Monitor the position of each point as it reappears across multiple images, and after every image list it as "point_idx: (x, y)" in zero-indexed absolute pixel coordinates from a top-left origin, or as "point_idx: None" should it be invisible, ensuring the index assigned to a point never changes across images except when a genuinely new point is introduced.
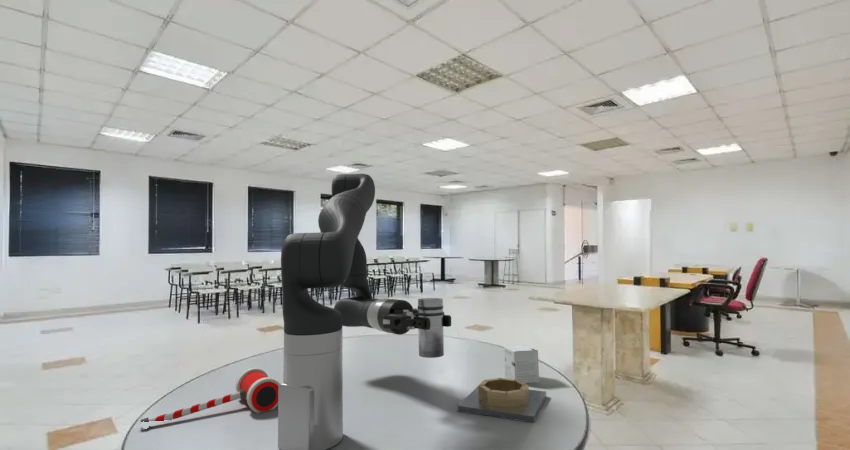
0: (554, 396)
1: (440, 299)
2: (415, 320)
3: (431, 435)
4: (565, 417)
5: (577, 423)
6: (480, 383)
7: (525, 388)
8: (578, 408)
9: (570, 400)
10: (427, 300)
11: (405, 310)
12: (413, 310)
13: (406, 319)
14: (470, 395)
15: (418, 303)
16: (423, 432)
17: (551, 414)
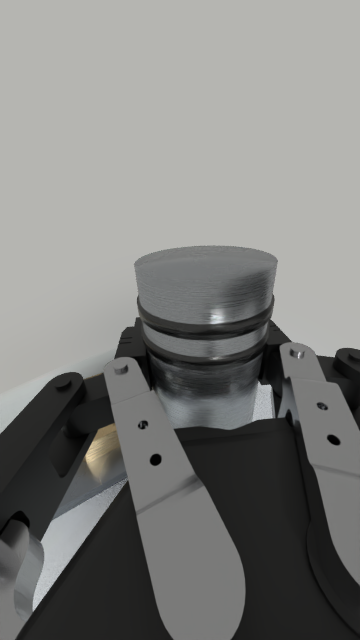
0: (25, 403)
1: (181, 247)
2: (287, 340)
3: (261, 402)
4: (101, 362)
5: (110, 352)
6: (108, 433)
7: (90, 377)
8: (64, 368)
9: (36, 384)
10: (242, 249)
11: (356, 479)
12: (224, 536)
13: (333, 359)
14: (121, 468)
15: (273, 283)
16: (269, 414)
17: (101, 372)
